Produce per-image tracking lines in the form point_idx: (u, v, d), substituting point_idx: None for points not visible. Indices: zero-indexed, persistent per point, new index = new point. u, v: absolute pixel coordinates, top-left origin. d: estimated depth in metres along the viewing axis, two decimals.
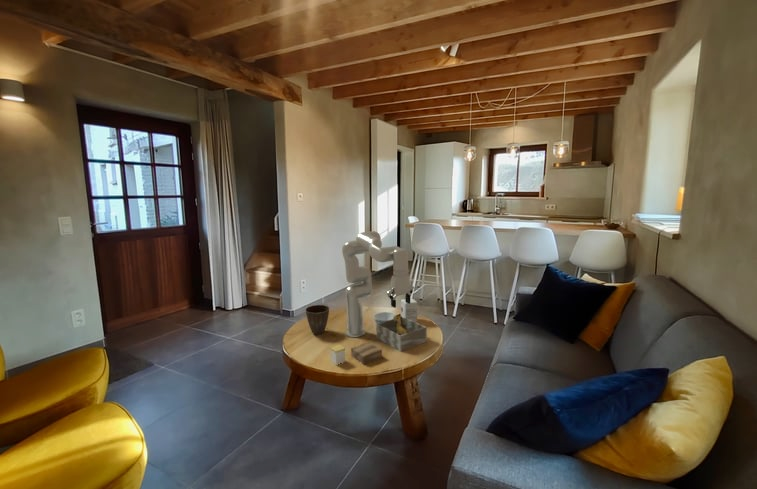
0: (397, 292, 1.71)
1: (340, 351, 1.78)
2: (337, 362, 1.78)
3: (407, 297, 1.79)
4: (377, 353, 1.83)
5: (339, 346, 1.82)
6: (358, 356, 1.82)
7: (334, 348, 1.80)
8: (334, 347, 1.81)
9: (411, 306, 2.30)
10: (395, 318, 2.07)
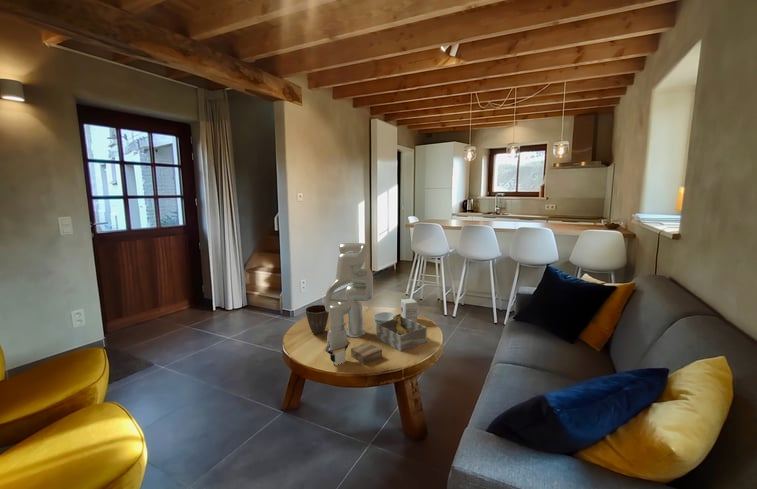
0: (332, 347, 1.76)
1: (340, 351, 1.78)
2: (337, 362, 1.78)
3: None
4: (377, 353, 1.83)
5: None
6: (358, 356, 1.82)
7: None
8: None
9: (411, 306, 2.30)
10: (395, 318, 2.07)
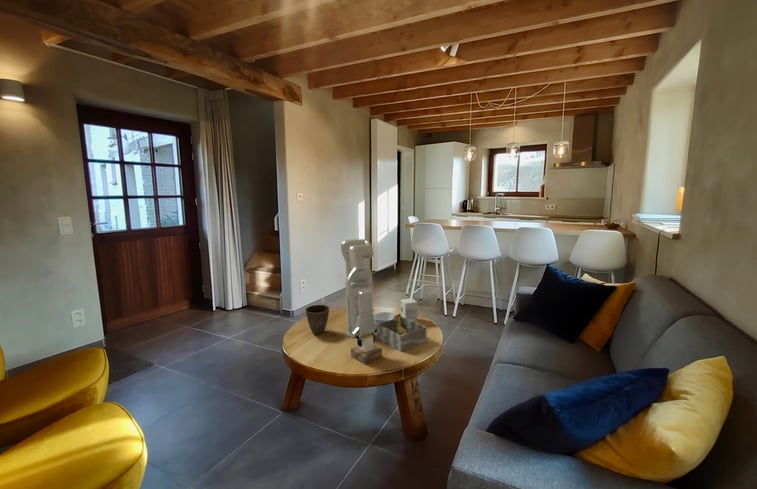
0: (362, 332, 1.80)
1: (368, 339, 1.82)
2: (366, 349, 1.82)
3: None
4: (378, 353, 1.84)
5: (367, 334, 1.86)
6: (359, 356, 1.81)
7: (363, 335, 1.84)
8: None
9: (411, 306, 2.30)
10: (395, 318, 2.07)
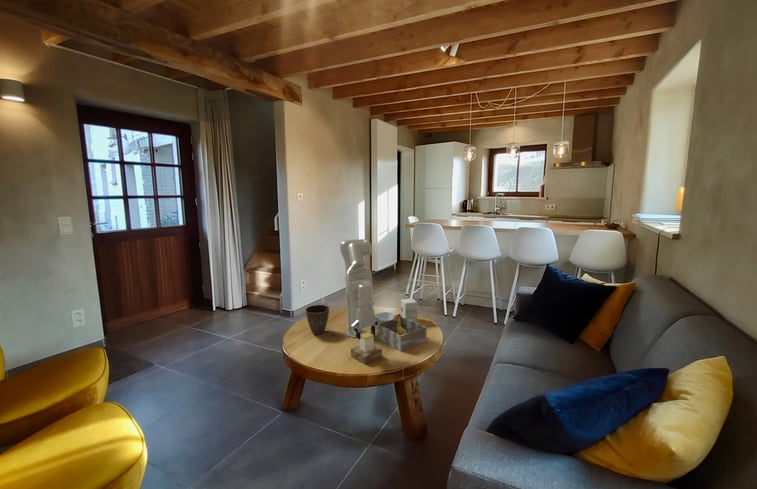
0: (361, 325, 1.80)
1: (369, 338, 1.83)
2: (366, 349, 1.82)
3: (372, 328, 1.87)
4: (378, 353, 1.84)
5: (368, 333, 1.86)
6: (358, 356, 1.81)
7: (363, 335, 1.84)
8: (363, 334, 1.85)
9: (411, 306, 2.30)
10: (395, 318, 2.07)
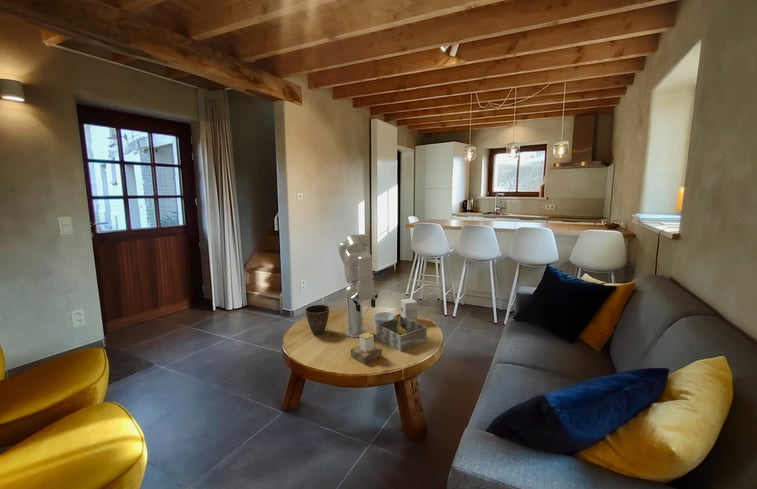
0: (361, 297, 1.79)
1: (369, 338, 1.83)
2: (366, 349, 1.82)
3: (372, 302, 1.86)
4: (377, 353, 1.84)
5: (368, 333, 1.86)
6: (358, 356, 1.81)
7: (363, 335, 1.84)
8: (363, 334, 1.85)
9: (411, 306, 2.30)
10: (395, 318, 2.07)
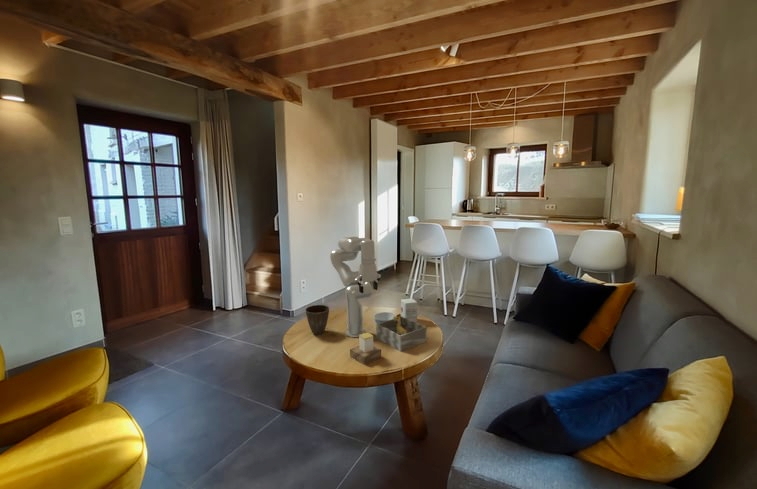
0: (364, 279, 1.89)
1: (368, 339, 1.82)
2: (366, 349, 1.82)
3: (374, 284, 1.96)
4: (377, 353, 1.84)
5: (367, 334, 1.86)
6: (358, 356, 1.81)
7: (363, 335, 1.84)
8: (363, 335, 1.85)
9: (411, 306, 2.30)
10: (395, 318, 2.07)
